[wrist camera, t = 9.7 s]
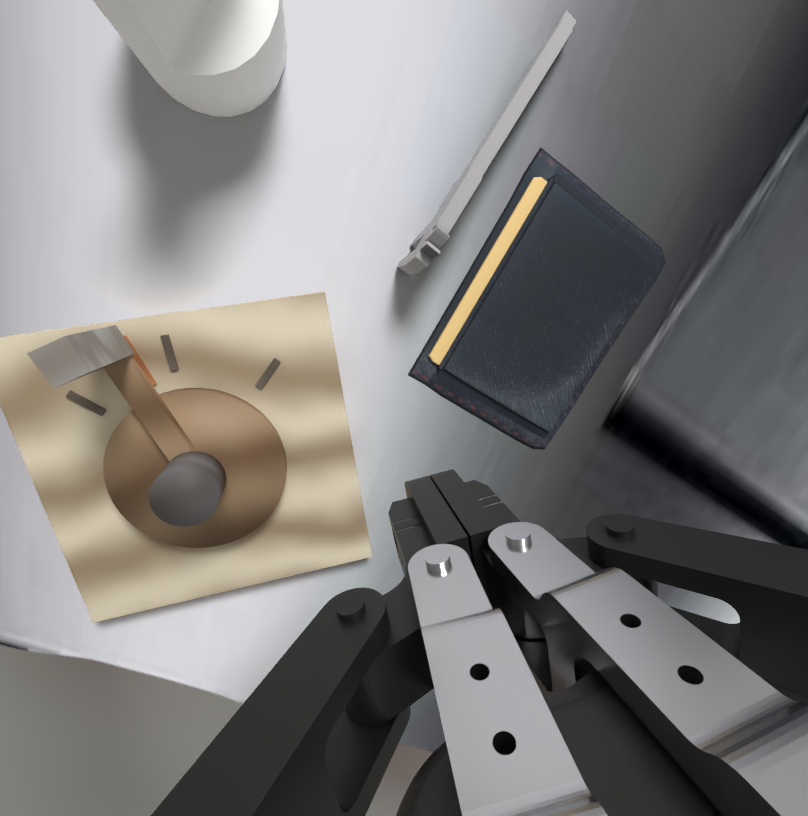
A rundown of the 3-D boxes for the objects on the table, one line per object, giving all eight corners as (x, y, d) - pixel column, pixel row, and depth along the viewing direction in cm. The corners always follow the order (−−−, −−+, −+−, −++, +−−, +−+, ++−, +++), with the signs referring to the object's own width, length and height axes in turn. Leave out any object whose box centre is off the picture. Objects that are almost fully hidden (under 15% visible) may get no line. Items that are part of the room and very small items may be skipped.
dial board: (369, 546, 39) (372, 558, 37) (101, 609, 35) (91, 624, 34) (324, 291, 32) (324, 292, 31) (-11, 338, 29) (-30, 341, 27)
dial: (314, 495, 34) (315, 545, 28) (173, 566, 34) (138, 636, 27) (193, 290, 29) (158, 293, 22) (19, 370, 28) (-70, 397, 21)
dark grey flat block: (546, 460, 38) (403, 374, 34) (536, 452, 40) (399, 369, 36) (686, 259, 36) (552, 136, 31) (668, 260, 38) (539, 144, 33)
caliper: (406, 276, 33) (427, 274, 27) (394, 267, 33) (413, 263, 27) (572, 25, 31) (636, -37, 25) (561, 12, 31) (623, -54, 25)
